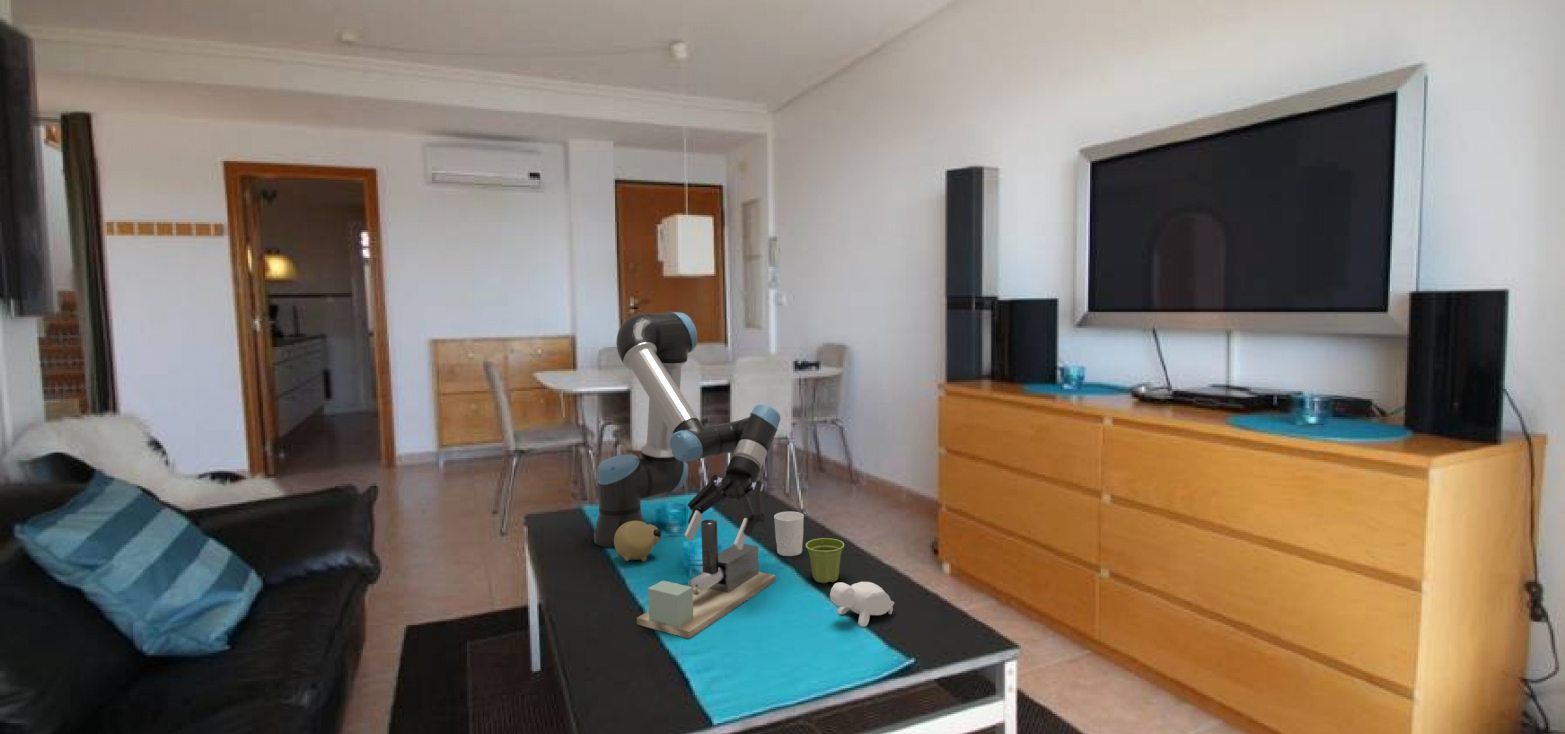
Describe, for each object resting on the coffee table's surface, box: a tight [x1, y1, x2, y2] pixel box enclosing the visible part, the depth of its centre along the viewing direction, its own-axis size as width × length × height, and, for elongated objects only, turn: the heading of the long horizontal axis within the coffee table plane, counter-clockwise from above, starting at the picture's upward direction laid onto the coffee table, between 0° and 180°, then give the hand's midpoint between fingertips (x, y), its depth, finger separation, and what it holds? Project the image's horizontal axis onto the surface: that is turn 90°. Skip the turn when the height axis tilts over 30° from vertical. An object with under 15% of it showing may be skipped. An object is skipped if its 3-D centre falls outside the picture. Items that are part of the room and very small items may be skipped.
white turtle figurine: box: [829, 581, 895, 628], centre depth 164 cm, size 9×8×15 cm
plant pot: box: [805, 537, 845, 584], centre depth 185 cm, size 9×9×9 cm
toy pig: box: [614, 521, 662, 563], centre depth 201 cm, size 10×12×11 cm
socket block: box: [647, 580, 694, 628], centre depth 161 cm, size 8×5×7 cm, turn 59°
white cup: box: [773, 511, 805, 557], centre depth 204 cm, size 8×8×10 cm
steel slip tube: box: [687, 519, 726, 595], centre depth 177 cm, size 4×21×15 cm, turn 149°
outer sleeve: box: [710, 543, 760, 593], centre depth 182 cm, size 6×13×7 cm, turn 149°
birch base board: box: [636, 571, 776, 640], centre depth 174 cm, size 14×34×2 cm, turn 149°
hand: (712, 542), depth 172 cm, fingers open, 13 cm apart
